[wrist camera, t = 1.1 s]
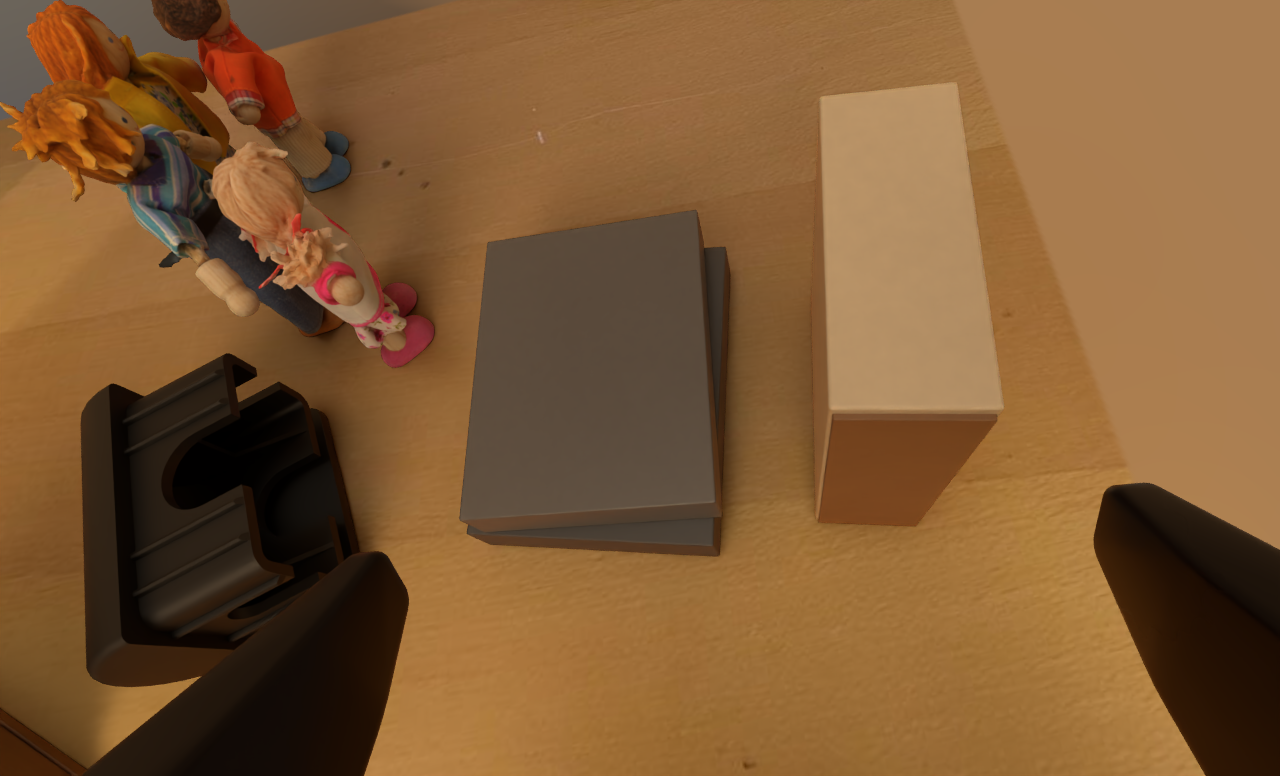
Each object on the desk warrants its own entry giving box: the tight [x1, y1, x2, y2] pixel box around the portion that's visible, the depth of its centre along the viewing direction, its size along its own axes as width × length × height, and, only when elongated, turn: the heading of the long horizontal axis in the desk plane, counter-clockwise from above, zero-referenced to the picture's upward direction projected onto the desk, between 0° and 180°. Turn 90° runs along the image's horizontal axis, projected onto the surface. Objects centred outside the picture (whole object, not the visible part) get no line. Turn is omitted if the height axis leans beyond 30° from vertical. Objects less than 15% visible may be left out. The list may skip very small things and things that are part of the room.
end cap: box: [81, 353, 359, 687], centre depth 25 cm, size 10×7×7 cm
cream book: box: [811, 82, 1004, 526], centre depth 20 cm, size 9×3×10 cm, turn 175°
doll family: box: [0, 0, 434, 368], centre depth 28 cm, size 21×10×13 cm, turn 31°
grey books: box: [459, 210, 730, 556], centre depth 25 cm, size 12×10×4 cm
